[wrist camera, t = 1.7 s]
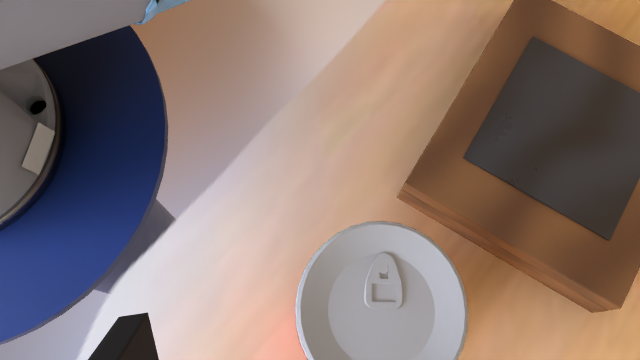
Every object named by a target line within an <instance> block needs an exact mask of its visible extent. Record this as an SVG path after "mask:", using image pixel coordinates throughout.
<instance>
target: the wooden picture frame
mask: <svg viewBox="0 0 640 360" xmlns="http://www.w3.org/2000/svg"><path fill="white" fill-rule="evenodd" d="M397 198H399V199H400V200H402V201H404V202H405V203H407V204H409V205H410V206H412V207H414V208H416V209H417V210H419V211H421V212H422V213H424V214H426V215H427V216H429V217H431V218H432V219H434V220H436V221H438V222H439V223H441V224H443V225H444V226H446V227H448V228H449V229H451V230H453V231H455V232H456V233H458V234H460V235H461V236H463V237H465V238H466V239H468V240H470V241H472V242H473V243H475V244H477V245H478V246H480V247H482V248H483V249H485V250H487V251H488V252H490V253H492V254H494V255H495V256H497V257H499V258H500V259H502V260H504V261H505V262H507V263H509V264H511V265H512V266H514V267H516V268H517V269H519V270H521V271H522V272H524V273H526V274H528V275H529V276H531V277H533V278H534V279H536V280H538V281H539V282H541V283H543V284H544V285H546V286H548V287H550V288H551V289H553V290H555V291H556V292H558V293H560V294H561V295H563V296H565V297H567V298H568V299H570V300H572V301H573V302H575V303H577V304H578V305H580V306H582V307H584V308H585V309H587V310H589V311H590V312H592V313H594V312H601V311H608V310H613V309H620V308H621V307H622V305H623V303H624V300H625V298H626V296H627V294H628V292H629V289H630V287H631V285H632V283H633V281H634V278H635V276H636V274H637V272H638V270H639V267H640V46H638V45H636V44H634V43H632V42H630V41H628V40H626V39H624V38H622V37H620V36H619V35H617V34H615V33H613V32H611V31H609V30H607V29H605V28H603V27H601V26H599V25H597V24H595V23H594V22H592V21H590V20H588V19H586V18H584V17H582V16H580V15H578V14H576V13H574V12H572V11H571V10H569V9H567V8H565V7H563V6H561V5H559V4H557V3H555V2H553V1H551V0H514V1H513V3H512V5H511V6H510V8H509V10H508V11H507V13H506V15H505V16H504V18H503V20H502V21H501V23H500V25H499V26H498V28H497V30H496V31H495V33H494V35H493V36H492V38H491V40H490V41H489V43H488V45H487V46H486V48H485V50H484V51H483V53H482V55H481V56H480V58H479V60H478V61H477V63H476V65H475V66H474V68H473V70H472V72H471V73H470V75H469V77H468V78H467V80H466V82H465V83H464V85H463V87H462V88H461V90H460V92H459V93H458V95H457V97H456V98H455V100H454V102H453V103H452V105H451V107H450V108H449V110H448V112H447V113H446V115H445V117H444V118H443V120H442V122H441V123H440V125H439V127H438V128H437V130H436V132H435V133H434V135H433V137H432V138H431V140H430V142H429V144H428V145H427V147H426V149H425V150H424V152H423V154H422V155H421V157H420V159H419V160H418V162H417V164H416V165H415V167H414V169H413V170H412V172H411V174H410V175H409V177H408V179H407V180H406V182H405V184H404V185H403V187H402V189H401V191H400V192H399V194H398V196H397Z"/></svg>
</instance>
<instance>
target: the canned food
mask: <svg viewBox="0 0 640 360" xmlns="http://www.w3.org/2000/svg"><path fill="white" fill-rule="evenodd" d="M295 315H296V328H297V333H298V337H299V341H300V345H301V347H302V349H303V351H304V354H305V356H306V358H307V360H458V358H459V355H460V353H461V351H462V349H463V346H464V342H465V338H466V334H467V327H468V306H467V298H466V293H465V290H464V286H463V283H462V280H461V277H460V275H459V273H458V272H457V270H456V268H455V266H454V264H453V262H452V261H451V259H450V258H449V257H448V256H447V254H446V253H445V252H444V251H443V249H442V248H441V247H440V246H438V245H437V244H436V243H435V242H434V241H433V240H432V239H430V238H429V237H428V236H426V235H424V234H423V233H421V232H419V231H418V230H416V229H414V228H411V227H408V226H405V225H403V224H400V223H394V222H386V221H375V222H365V223H361V224H358V225H354V226H351V227H349V228H347V229H345V230H343V231H341V232H339V233H337V234H336V235H334V236H333V237H332V238H331V239H329V240H328V241H327V242H326V243H324V244H323V245H322V246H321V247H320V249H319V250H318V251H317V252H316V253H315V254H314V256H313V257H312V258H311V260H310V262H309V263H308V265H307V267H306V269H305V271H304V272H303V275H302V278H301V281H300V284H299V287H298V291H297V298H296V305H295Z"/></svg>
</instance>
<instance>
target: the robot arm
mask: <svg viewBox="0 0 640 360" xmlns="http://www.w3.org/2000/svg"><path fill="white" fill-rule="evenodd" d="M187 1H190V0H0V231H1V230H3V229H5V228H6V227H8V226H9V225H11V224H12V223H14V222H15V221H16V220H18V219H19V218H20V217H21V216H22V215H24V214H25V213H26V212H27V211H28V210H29V209H30V208H31V207H32V206H33V205H34V204H35V203H36V202H37V200H38V199H39V198H40V197H41V196H42V194H43V193H44V191H45V190H46V189H47V187H48V186H49V184H50V182H51V181H52V179H53V177H54V175H55V173H56V171H57V169H58V166H59V164H60V161H61V158H62V154H63V150H64V146H65V139H66V116H65V111H64V106H63V103H62V99H61V96H60V94H59V92H58V90H57V88H56V86H55V84H54V82H53V81H52V79H51V78H50V77H49V75H48V74H47V73H46V72H45V71H44V69H43V68H42V67H41V66H40V65H39V64H38V63H37V62H36V61H35V60H34V59H33V58H36V57H38V56H41V55H44V54H47V53H50V52H53V51H56V50H59V49H62V48H65V47H67V46H70V45H73V44H76V43H79V42H82V41H85V40H88V39H91V38H93V37H96V36H99V35H102V34H105V33H108V32H111V31H114V30H117V29H120V28H122V27H125V26H128V25H131V24H137V25H140V24H144V23H146V22H147V21H148V20H151V19H152V18H153V17H154V16H155V14H158V13H160V12H163V11H165V10H167V9H170V8H173V7H175V6H178V5H180V4H183V3H185V2H187ZM88 360H159V359H158V354H157V350H156V346H155V341H154V337H153V333H152V329H151V324H150V320H149V316H148V313H143V314H136V315H129V316H122V317H119V318H118V319H117V321H116V322H115V323H114V325H113V326H112V327H111V329H110V330H109V332H108V333H107V334H106V336H105V337H104V338H103V340H102V341H101V343H100V344H99V345H98V347H97V348H96V349H95V351H94V352H93V354H92V355H91V356H90V358H89V359H88Z"/></svg>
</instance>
